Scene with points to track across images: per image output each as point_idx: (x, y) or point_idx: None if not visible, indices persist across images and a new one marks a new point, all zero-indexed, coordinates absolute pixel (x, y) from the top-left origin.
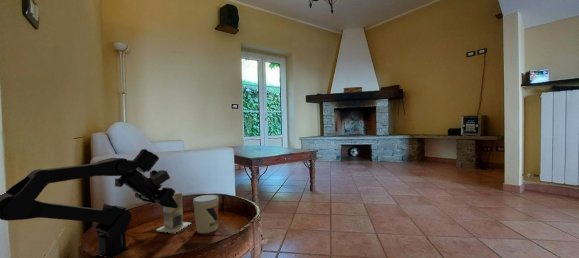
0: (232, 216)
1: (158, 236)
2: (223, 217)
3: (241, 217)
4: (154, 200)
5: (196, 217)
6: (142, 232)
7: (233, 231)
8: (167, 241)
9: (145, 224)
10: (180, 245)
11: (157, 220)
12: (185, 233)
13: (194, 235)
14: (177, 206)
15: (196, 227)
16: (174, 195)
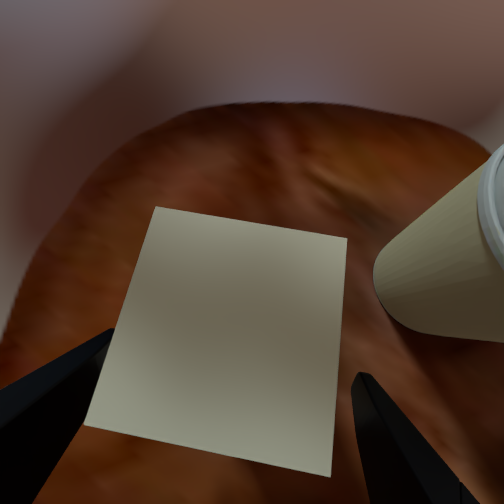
0: (403, 137)
1: None
2: (374, 157)
3: (448, 134)
4: (30, 477)
5: (490, 339)
6: (120, 452)
7: None
8: None
9: (43, 356)
10: (479, 496)
11: (71, 289)
12: (368, 365)
13: (432, 366)
14: (367, 378)
15: (418, 327)
16: (335, 367)
